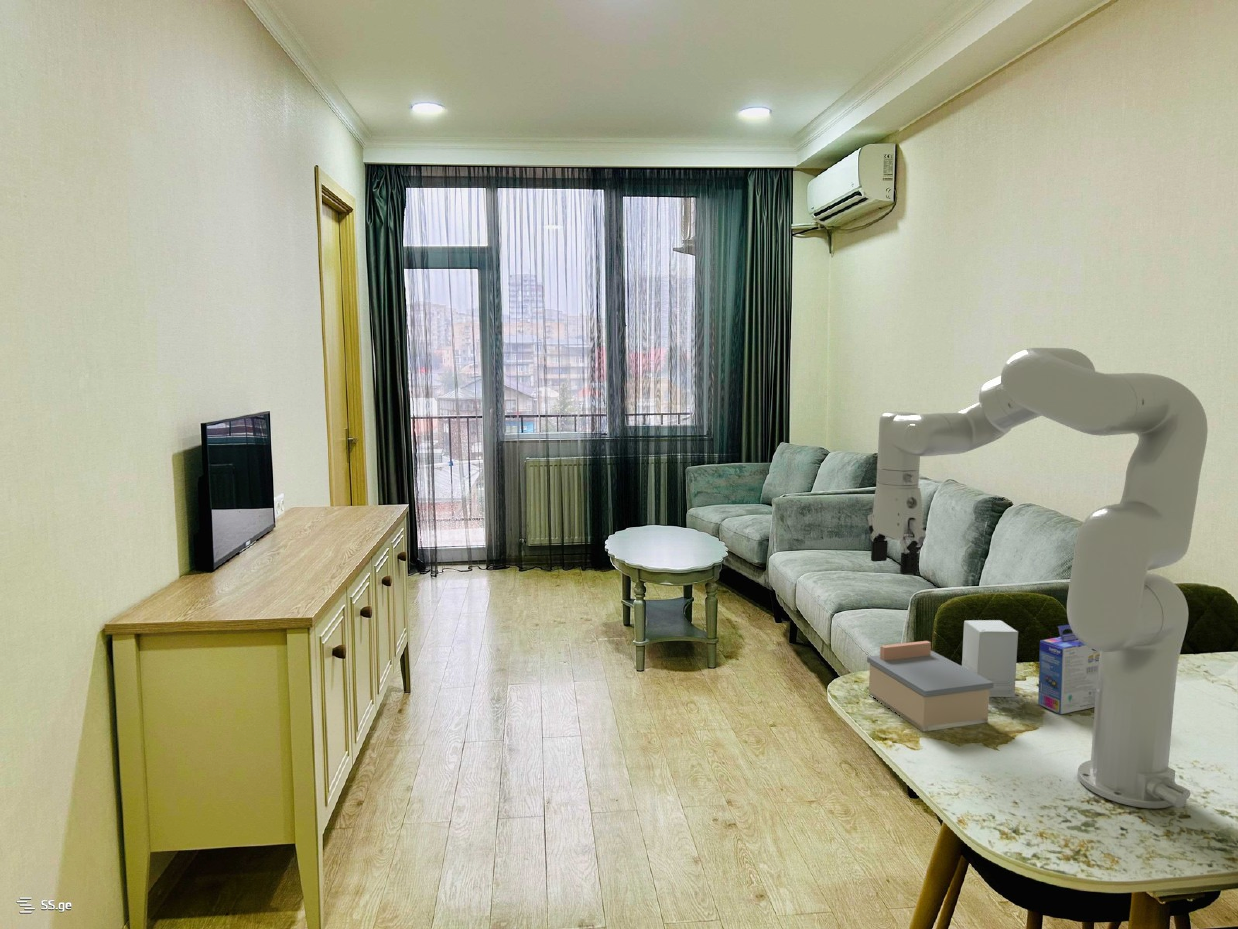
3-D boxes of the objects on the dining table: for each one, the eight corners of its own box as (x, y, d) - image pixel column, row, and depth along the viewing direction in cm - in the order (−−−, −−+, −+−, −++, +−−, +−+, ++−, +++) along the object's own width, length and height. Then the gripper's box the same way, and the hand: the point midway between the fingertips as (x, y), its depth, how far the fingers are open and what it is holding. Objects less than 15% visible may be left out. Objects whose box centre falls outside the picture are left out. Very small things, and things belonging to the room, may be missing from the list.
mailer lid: (993, 688, 141) (994, 669, 140) (925, 697, 137) (925, 677, 137) (929, 654, 157) (930, 637, 157) (867, 662, 153) (867, 644, 153)
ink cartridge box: (1074, 695, 154) (1079, 620, 152) (1101, 707, 148) (1106, 629, 147) (1034, 703, 150) (1039, 626, 148) (1060, 715, 145) (1066, 635, 143)
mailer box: (987, 722, 142) (989, 689, 141) (922, 731, 138) (924, 697, 138) (928, 687, 157) (929, 657, 157) (868, 695, 154) (869, 664, 153)
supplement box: (1015, 698, 153) (1019, 631, 151) (975, 697, 153) (978, 631, 151) (998, 682, 160) (1002, 619, 158) (959, 682, 160) (963, 619, 158)
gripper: (944, 484, 148) (938, 577, 150) (888, 471, 164) (884, 555, 166) (907, 485, 146) (902, 580, 148) (855, 472, 162) (851, 557, 164)
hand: (893, 567), depth 157 cm, fingers open, 9 cm apart
